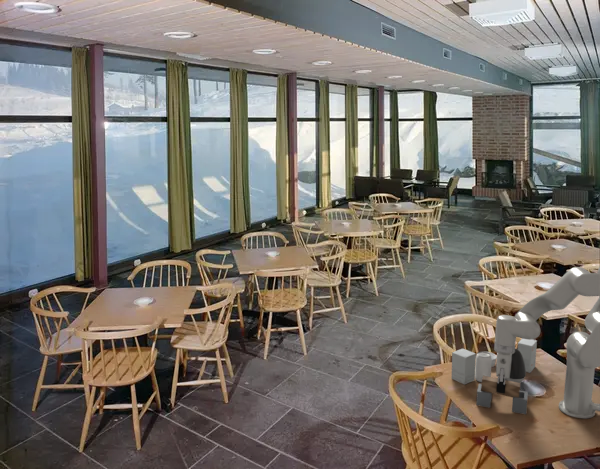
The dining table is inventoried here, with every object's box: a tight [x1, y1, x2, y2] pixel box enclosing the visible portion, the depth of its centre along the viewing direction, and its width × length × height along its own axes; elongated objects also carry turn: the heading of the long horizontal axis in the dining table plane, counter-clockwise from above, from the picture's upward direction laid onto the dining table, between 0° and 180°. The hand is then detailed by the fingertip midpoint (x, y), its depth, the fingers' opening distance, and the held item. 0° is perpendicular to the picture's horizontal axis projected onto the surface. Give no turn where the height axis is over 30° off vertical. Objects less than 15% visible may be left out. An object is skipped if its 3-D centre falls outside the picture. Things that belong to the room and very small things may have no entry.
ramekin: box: [487, 351, 497, 368], centre depth 246 cm, size 9×9×4 cm
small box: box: [517, 338, 538, 374], centre depth 240 cm, size 8×6×13 cm
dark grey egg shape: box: [506, 347, 527, 384], centre depth 227 cm, size 10×10×15 cm
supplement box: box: [450, 348, 477, 385], centre depth 230 cm, size 7×7×13 cm
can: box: [475, 351, 492, 383], centre depth 230 cm, size 6×6×12 cm
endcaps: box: [475, 383, 528, 415], centre depth 209 cm, size 18×7×6 cm, turn 66°
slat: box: [481, 376, 521, 398], centre depth 208 cm, size 14×4×5 cm, turn 66°
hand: (500, 389), depth 208 cm, fingers closed on slat, 3 cm apart
